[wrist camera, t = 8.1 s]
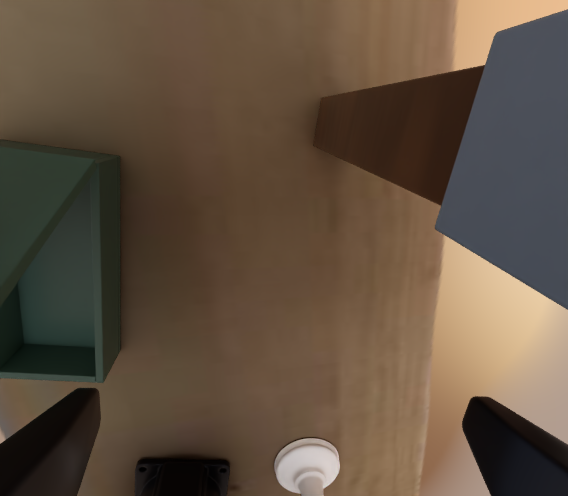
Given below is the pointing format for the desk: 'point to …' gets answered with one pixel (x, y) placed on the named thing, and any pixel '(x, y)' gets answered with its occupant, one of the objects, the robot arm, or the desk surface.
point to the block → (517, 160)
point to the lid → (33, 205)
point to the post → (402, 129)
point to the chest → (69, 287)
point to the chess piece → (307, 466)
